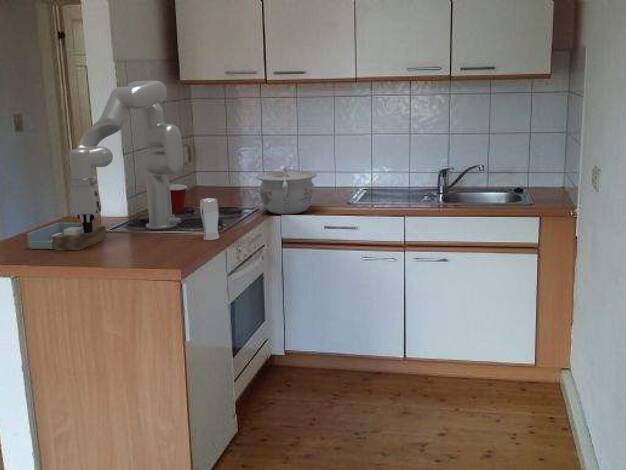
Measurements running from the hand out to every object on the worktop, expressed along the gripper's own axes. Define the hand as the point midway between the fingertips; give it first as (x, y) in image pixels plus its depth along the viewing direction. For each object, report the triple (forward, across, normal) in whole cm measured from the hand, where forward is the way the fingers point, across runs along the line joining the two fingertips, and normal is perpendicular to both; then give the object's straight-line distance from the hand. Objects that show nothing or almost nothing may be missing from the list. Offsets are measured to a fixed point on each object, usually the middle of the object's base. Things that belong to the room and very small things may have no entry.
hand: (88, 232), depth 256 cm
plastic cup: (+6, -3, -71) cm, 71 cm away
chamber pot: (+6, -56, -73) cm, 92 cm away
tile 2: (+1, +6, 0) cm, 6 cm away
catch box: (+6, +17, -5) cm, 19 cm away
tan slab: (+6, +6, -5) cm, 10 cm away
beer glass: (+6, -41, -19) cm, 45 cm away
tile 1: (+3, +18, -9) cm, 20 cm away
